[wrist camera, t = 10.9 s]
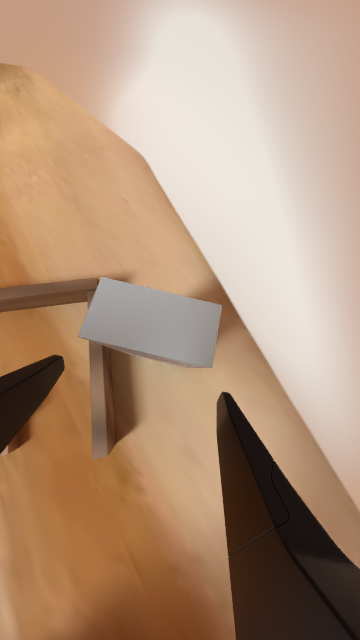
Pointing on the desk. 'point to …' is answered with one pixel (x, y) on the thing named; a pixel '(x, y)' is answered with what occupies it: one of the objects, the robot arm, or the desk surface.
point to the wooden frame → (98, 353)
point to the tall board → (153, 324)
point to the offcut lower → (12, 445)
